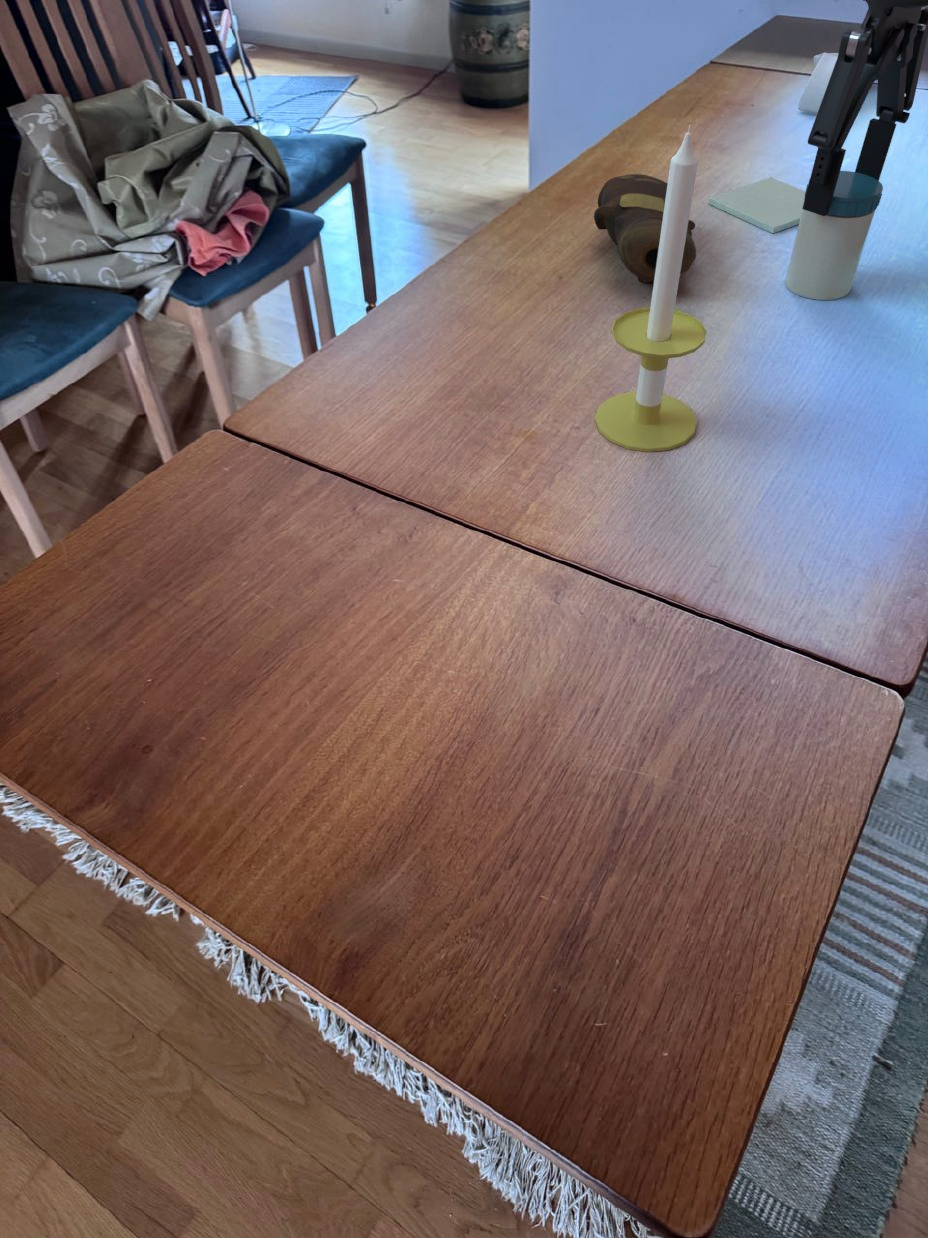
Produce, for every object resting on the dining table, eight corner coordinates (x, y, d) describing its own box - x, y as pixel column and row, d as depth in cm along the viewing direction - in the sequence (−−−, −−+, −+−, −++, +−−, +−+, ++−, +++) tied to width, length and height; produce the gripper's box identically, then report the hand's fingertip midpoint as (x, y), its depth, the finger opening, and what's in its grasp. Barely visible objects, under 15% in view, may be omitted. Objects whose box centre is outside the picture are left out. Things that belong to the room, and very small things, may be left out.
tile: (835, 210, 119) (837, 204, 118) (772, 233, 115) (774, 227, 114) (769, 182, 126) (770, 176, 125) (707, 203, 122) (709, 197, 121)
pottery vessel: (597, 302, 103) (603, 238, 98) (588, 228, 117) (593, 168, 112) (704, 302, 103) (716, 237, 97) (683, 227, 117) (692, 167, 111)
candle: (573, 419, 87) (596, 124, 68) (641, 382, 92) (682, 94, 72) (649, 465, 82) (698, 159, 62) (718, 423, 86) (784, 124, 67)
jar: (863, 295, 103) (894, 197, 95) (803, 304, 102) (830, 206, 94) (830, 266, 108) (857, 171, 100) (773, 274, 107) (796, 179, 99)
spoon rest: (819, 70, 160) (830, 24, 154) (885, 79, 155) (899, 32, 150) (776, 109, 146) (787, 60, 141) (848, 120, 142) (861, 70, 137)
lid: (892, 211, 96) (898, 193, 94) (826, 220, 95) (831, 202, 93) (854, 184, 101) (859, 166, 100) (791, 192, 100) (795, 174, 99)
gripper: (888, -24, 74) (815, 239, 91) (1005, -66, 84) (921, 178, 101) (810, -37, 78) (753, 218, 94) (931, -75, 88) (861, 160, 105)
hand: (840, 197), depth 98 cm, fingers open, 10 cm apart
